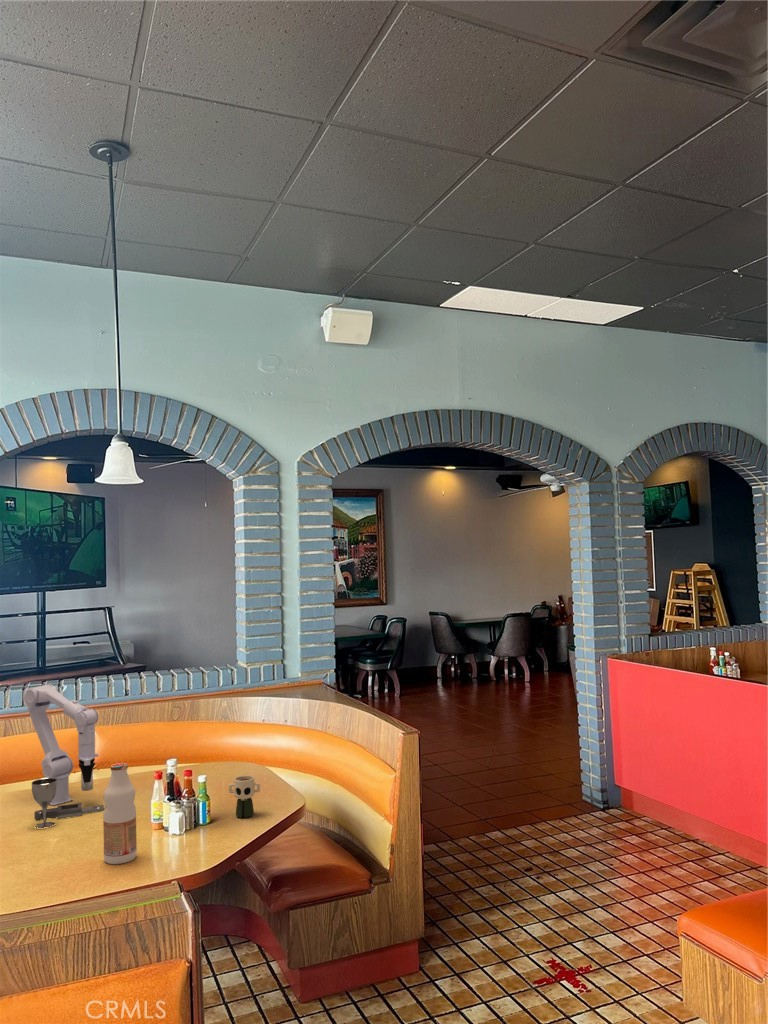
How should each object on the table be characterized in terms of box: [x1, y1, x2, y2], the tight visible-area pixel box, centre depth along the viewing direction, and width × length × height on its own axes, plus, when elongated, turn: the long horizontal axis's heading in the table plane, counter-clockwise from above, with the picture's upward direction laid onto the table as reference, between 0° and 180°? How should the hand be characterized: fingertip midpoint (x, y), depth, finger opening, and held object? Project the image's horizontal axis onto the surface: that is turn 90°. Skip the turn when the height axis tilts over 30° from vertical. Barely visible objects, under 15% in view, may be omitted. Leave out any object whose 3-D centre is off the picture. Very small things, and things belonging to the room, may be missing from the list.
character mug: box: [228, 774, 261, 818], centre depth 269 cm, size 11×7×13 cm, turn 90°
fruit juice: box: [102, 762, 138, 865], centre depth 235 cm, size 9×9×28 cm
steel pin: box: [80, 769, 94, 792], centre depth 286 cm, size 4×4×9 cm
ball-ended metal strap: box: [33, 802, 105, 821], centre depth 277 cm, size 23×8×2 cm, turn 112°
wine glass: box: [31, 777, 57, 828], centre depth 266 cm, size 8×8×15 cm
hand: (87, 780), depth 286 cm, fingers closed on steel pin, 4 cm apart
